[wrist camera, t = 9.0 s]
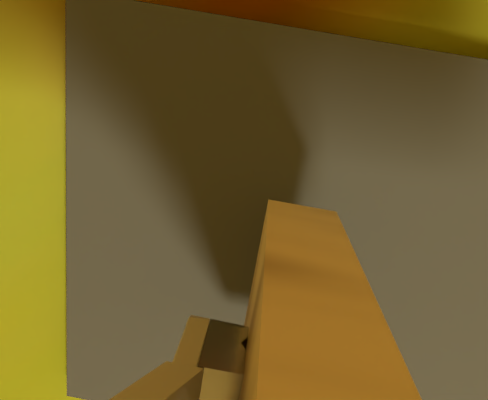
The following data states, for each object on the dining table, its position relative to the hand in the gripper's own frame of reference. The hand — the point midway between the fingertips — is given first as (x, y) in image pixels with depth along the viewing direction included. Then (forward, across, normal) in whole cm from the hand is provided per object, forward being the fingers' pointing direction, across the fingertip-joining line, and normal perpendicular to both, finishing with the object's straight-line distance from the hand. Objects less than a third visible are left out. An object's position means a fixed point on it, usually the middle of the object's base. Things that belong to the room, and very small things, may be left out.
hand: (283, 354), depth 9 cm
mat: (+5, +1, 0) cm, 5 cm away
